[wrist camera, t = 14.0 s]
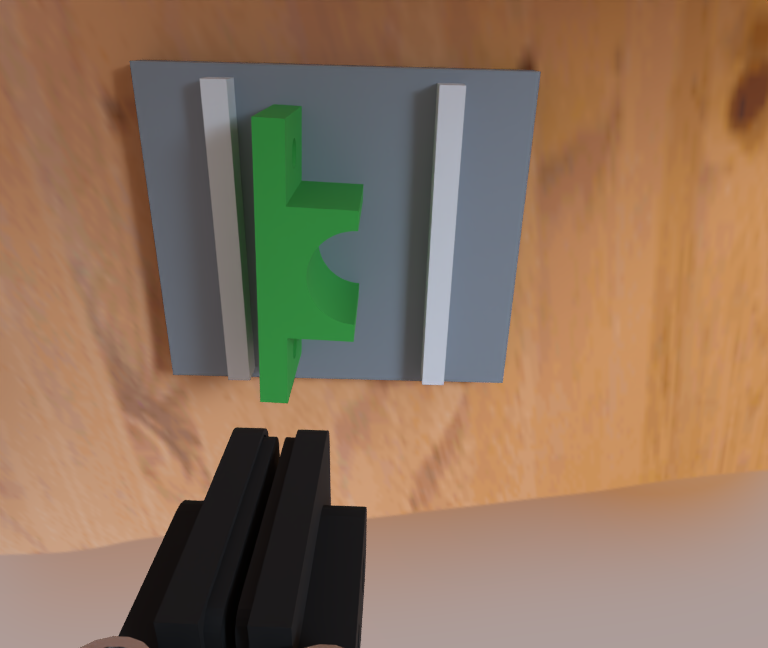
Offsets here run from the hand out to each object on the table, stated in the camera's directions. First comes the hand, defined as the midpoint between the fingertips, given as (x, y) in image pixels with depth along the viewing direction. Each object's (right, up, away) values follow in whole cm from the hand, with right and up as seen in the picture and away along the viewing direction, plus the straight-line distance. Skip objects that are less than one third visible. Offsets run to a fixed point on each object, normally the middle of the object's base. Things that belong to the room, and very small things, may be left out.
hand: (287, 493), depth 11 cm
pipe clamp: (-1, +7, +16) cm, 17 cm away
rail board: (0, +7, +17) cm, 19 cm away
